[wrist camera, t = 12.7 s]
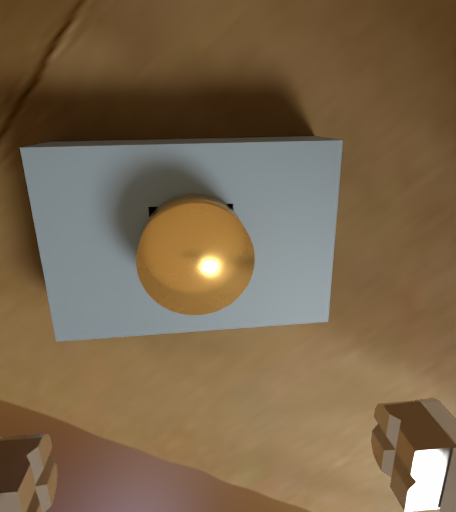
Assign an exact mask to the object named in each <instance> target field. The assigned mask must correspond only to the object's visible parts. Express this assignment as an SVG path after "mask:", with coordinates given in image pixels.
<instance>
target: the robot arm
mask: <svg viewBox="0 0 456 512" xmlns="http://www.w3.org/2000/svg"><path fill="white" fill-rule="evenodd" d="M374 417H375V419H376V421H377V422H378V425H377V426H376V427H375V428H374V429H373V430H372V439H371V443H372V449H373V454H374V457H375V459H376V462H377V464H378V466H379V467H380V469H381V471H383V472H384V473H386V474H387V475H388V476H390V477H391V483H390V487H391V489H392V491H393V492H394V494H395V496H396V498H397V499H398V501H399V503H400V505H401V506H402V508H403V510H404V512H406V511H418V510H430V509H440V510H439V511H440V512H456V418H455V417H454V416H453V415H452V414H451V413H450V412H449V411H448V410H447V409H446V408H445V406H444V405H443V404H442V403H441V402H440V401H439V400H437V399H435V398H430V399H420V400H415V401H404V402H393V403H383V404H378V405H377V407H376V408H375V414H374ZM51 449H52V443H51V439H50V435H47V434H35V435H20V436H6V437H5V436H4V437H0V512H45V511H46V510H47V509H48V508H49V507H50V506H51V505H52V502H53V499H54V496H55V492H56V485H57V466H56V461H55V460H53V459H52V458H51V457H50V456H49V454H50V451H51Z"/></svg>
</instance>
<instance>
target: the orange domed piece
mask: <svg viewBox="0 0 456 512" xmlns="http://www.w3.org/2000/svg"><path fill="white" fill-rule="evenodd" d="M254 263H255V255H254V248H253V244H252V241H251V238H250V236H249V234H248V232H247V231H246V229H245V227H244V226H243V224H242V222H241V220H240V219H239V217H238V216H237V214H236V213H235V212H234V211H233V210H232V209H231V207H229V206H228V205H227V204H226V203H224V202H222V201H221V200H219V199H217V198H215V197H212V196H209V195H205V194H196V193H191V194H183V195H179V196H176V197H173V198H171V199H169V200H167V201H165V202H164V203H162V204H161V205H160V206H158V207H157V208H156V209H155V210H154V211H153V213H152V214H151V215H150V217H149V218H148V220H147V222H146V224H145V226H144V229H143V232H142V235H141V238H140V241H139V245H138V249H137V254H136V268H137V273H138V276H139V279H140V282H141V284H142V286H143V288H144V289H145V291H146V292H147V293H148V294H149V296H150V297H151V298H152V299H153V300H154V301H156V302H157V303H158V304H160V305H161V306H162V307H164V308H166V309H168V310H170V311H173V312H176V313H180V314H184V315H204V314H209V313H213V312H216V311H219V310H221V309H223V308H225V307H227V306H228V305H230V304H231V303H233V302H234V301H235V300H236V299H237V298H238V297H239V296H240V295H241V294H242V293H243V292H244V290H245V289H246V287H247V286H248V284H249V282H250V280H251V277H252V274H253V270H254Z"/></svg>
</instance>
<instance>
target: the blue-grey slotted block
mask: <svg viewBox="0 0 456 512" xmlns="http://www.w3.org/2000/svg"><path fill="white" fill-rule="evenodd" d="M342 145H343V140H338V139H332V138H325V137H318V136H293V137H246V138H200V139H154V140H108V141H62V142H45V143H40V144H35V145H30V146H25V147H21V148H20V151H21V157H22V162H23V167H24V173H25V178H26V183H27V189H28V194H29V199H30V204H31V210H32V215H33V220H34V226H35V231H36V236H37V242H38V247H39V252H40V258H41V263H42V268H43V273H44V279H45V284H46V289H47V295H48V300H49V305H50V311H51V316H52V321H53V327H54V332H55V337H56V342H58V341H72V340H85V339H99V338H113V337H126V336H140V335H153V334H167V333H181V332H194V331H208V330H222V329H235V328H249V327H262V326H276V325H290V324H303V323H317V322H328V317H329V304H330V292H331V280H332V268H333V255H334V243H335V231H336V219H337V207H338V194H339V182H340V170H341V158H342ZM191 193H196V194H205V195H209V196H212V197H215V198H217V199H219V200H221V201H222V202H224V203H226V204H227V205H228V206H229V207H231V209H232V210H233V211H234V212H235V213H236V214H237V216H238V217H239V219H240V220H241V222H242V224H243V226H244V227H245V229H246V231H247V232H248V234H249V236H250V238H251V241H252V244H253V248H254V255H255V263H254V270H253V274H252V277H251V280H250V282H249V284H248V286H247V287H246V289H245V290H244V292H243V293H242V294H241V295H240V296H239V297H238V298H237V299H236V300H235V301H234V302H233V303H231V304H230V305H228V306H227V307H225V308H223V309H221V310H219V311H216V312H213V313H209V314H204V315H184V314H180V313H176V312H173V311H170V310H168V309H166V308H164V307H162V306H161V305H160V304H158V303H157V302H156V301H154V300H153V299H152V298H151V297H150V296H149V294H148V293H147V292H146V291H145V289H144V288H143V286H142V284H141V282H140V279H139V276H138V273H137V268H136V254H137V249H138V245H139V241H140V238H141V235H142V232H143V229H144V226H145V224H146V222H147V220H148V218H149V217H150V215H151V214H152V213H153V211H154V210H155V207H158V206H160V205H161V204H162V203H164V202H165V201H167V200H169V199H171V198H173V197H176V196H179V195H183V194H191Z"/></svg>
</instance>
